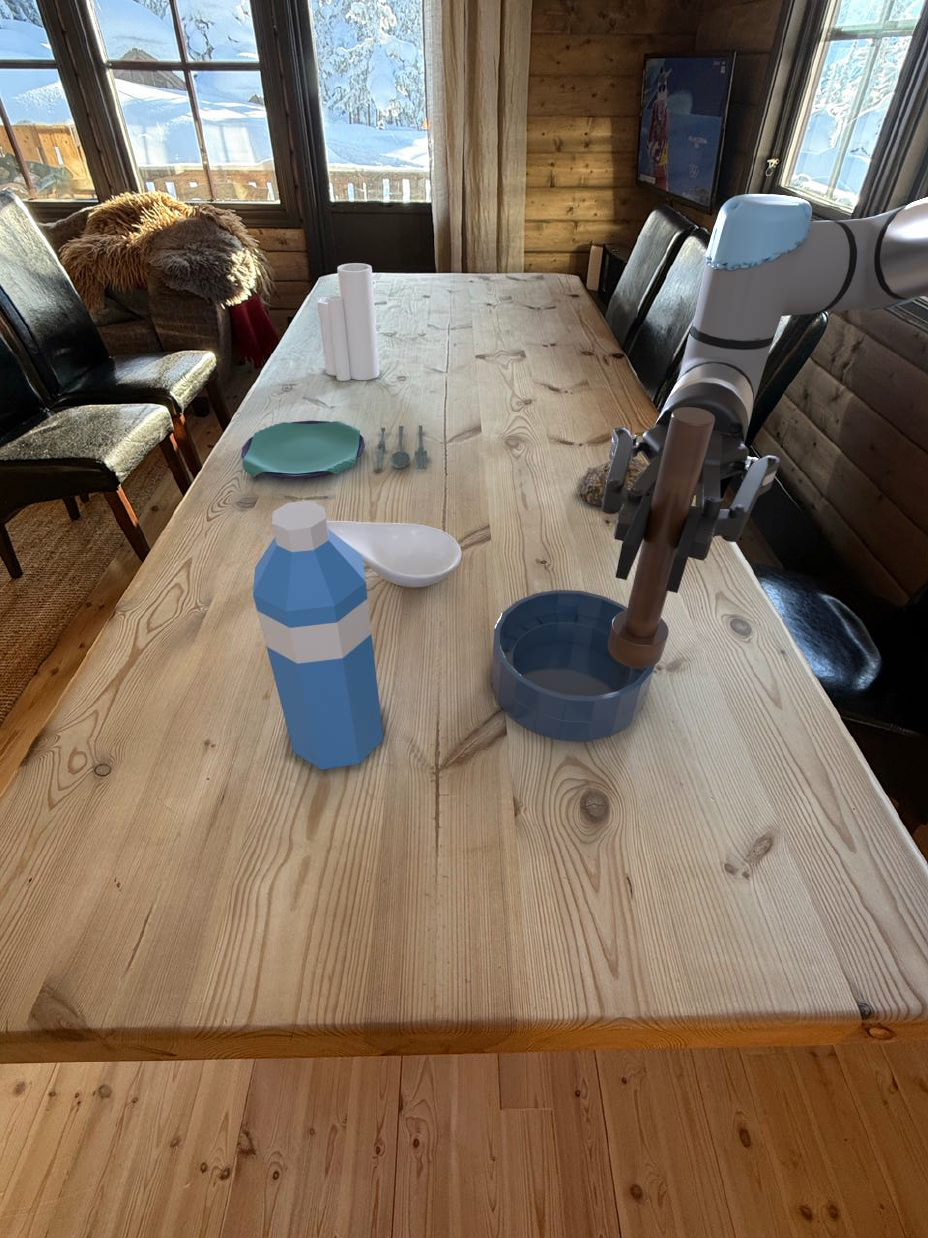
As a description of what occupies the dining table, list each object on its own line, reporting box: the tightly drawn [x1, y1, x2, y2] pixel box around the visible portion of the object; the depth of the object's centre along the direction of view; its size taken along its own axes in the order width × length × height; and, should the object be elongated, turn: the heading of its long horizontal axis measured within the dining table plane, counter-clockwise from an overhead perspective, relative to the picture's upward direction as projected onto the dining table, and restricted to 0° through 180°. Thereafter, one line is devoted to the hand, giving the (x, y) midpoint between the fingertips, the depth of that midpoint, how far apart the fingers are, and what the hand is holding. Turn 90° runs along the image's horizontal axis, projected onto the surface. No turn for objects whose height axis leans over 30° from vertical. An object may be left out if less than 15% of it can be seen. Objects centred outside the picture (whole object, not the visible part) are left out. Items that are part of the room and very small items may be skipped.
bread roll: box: [579, 457, 649, 507], centre depth 100 cm, size 13×12×5 cm
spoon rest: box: [327, 520, 462, 588], centre depth 82 cm, size 24×12×7 cm, turn 94°
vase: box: [316, 262, 380, 382], centre depth 130 cm, size 11×7×20 cm, turn 89°
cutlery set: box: [240, 420, 428, 479], centre depth 108 cm, size 20×30×2 cm, turn 93°
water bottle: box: [252, 500, 384, 771], centre depth 57 cm, size 9×9×25 cm
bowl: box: [490, 589, 656, 743], centre depth 68 cm, size 16×16×6 cm
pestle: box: [608, 407, 715, 668], centre depth 47 cm, size 4×4×20 cm
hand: (650, 568), depth 42 cm, fingers closed on pestle, 3 cm apart
